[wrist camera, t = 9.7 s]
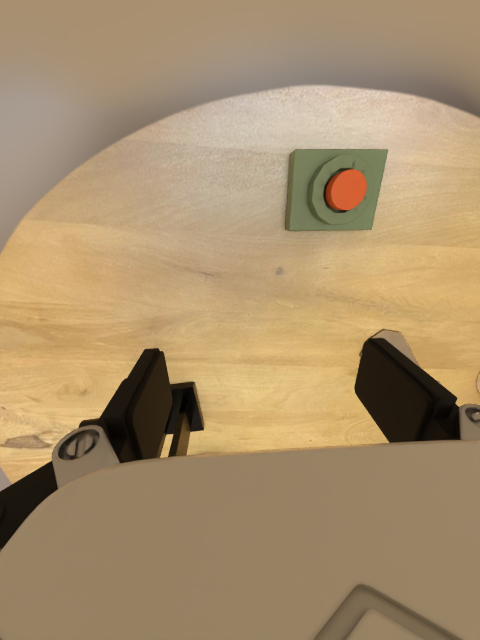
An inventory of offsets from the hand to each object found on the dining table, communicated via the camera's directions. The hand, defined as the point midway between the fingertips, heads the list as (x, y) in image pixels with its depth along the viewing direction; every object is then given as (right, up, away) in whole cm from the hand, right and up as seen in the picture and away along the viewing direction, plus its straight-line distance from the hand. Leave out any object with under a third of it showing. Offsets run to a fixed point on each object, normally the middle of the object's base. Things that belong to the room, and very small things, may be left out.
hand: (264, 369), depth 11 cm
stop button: (+10, +16, +14) cm, 24 cm away
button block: (+10, +18, +18) cm, 27 cm away
